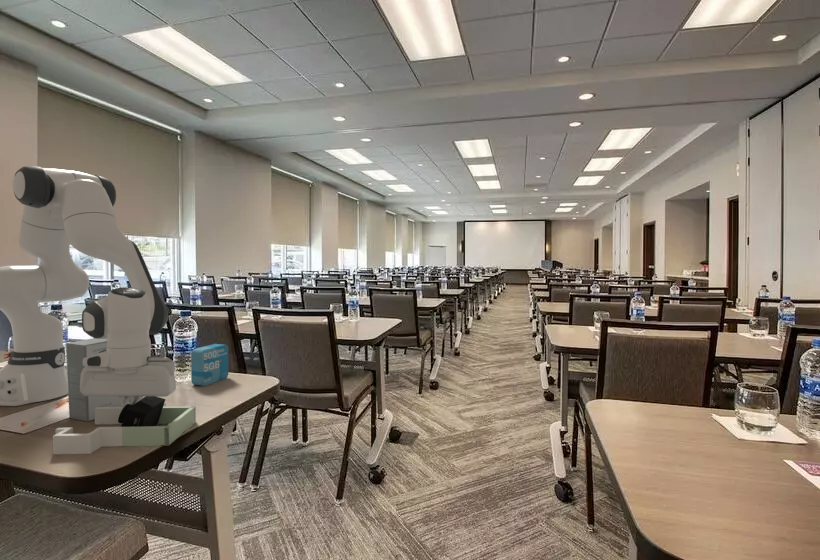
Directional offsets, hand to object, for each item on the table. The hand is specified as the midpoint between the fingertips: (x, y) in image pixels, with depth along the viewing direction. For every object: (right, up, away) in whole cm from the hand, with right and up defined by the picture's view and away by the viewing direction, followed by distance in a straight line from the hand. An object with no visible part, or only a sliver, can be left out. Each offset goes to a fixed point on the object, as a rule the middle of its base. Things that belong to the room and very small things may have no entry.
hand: (129, 413), depth 102 cm
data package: (0, -3, +42) cm, 42 cm away
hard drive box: (-15, -4, +14) cm, 21 cm away
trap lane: (+1, -5, -1) cm, 5 cm away
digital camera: (+2, -4, 0) cm, 5 cm away
